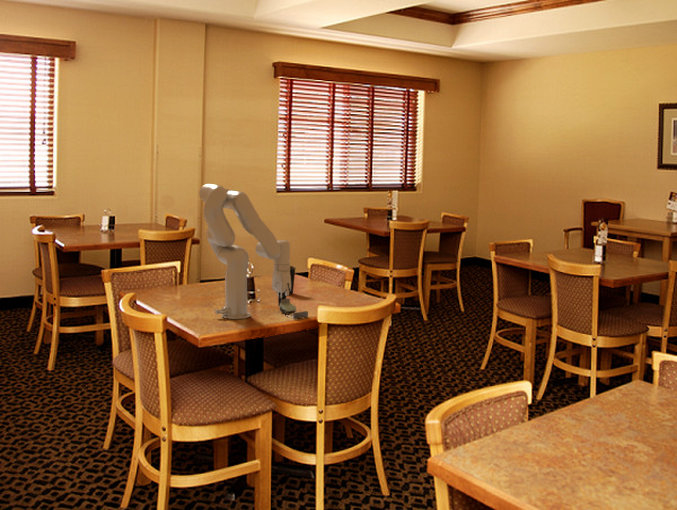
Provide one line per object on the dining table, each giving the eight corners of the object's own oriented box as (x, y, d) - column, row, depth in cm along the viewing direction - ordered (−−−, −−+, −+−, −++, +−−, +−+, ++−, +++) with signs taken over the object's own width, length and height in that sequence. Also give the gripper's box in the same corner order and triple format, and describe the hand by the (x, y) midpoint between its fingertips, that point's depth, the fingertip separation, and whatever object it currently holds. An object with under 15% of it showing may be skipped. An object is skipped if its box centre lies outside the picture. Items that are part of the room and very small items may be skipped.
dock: (294, 319, 304) (294, 313, 303) (282, 315, 312) (282, 308, 311) (307, 317, 308) (307, 311, 307) (296, 313, 316) (296, 307, 315)
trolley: (278, 310, 318) (278, 299, 316) (289, 309, 321) (290, 297, 319) (285, 315, 312) (285, 303, 311) (296, 313, 315) (297, 302, 314)
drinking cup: (293, 295, 353) (293, 257, 350) (279, 294, 355) (279, 256, 352) (297, 292, 361) (297, 254, 358) (283, 292, 362) (283, 254, 359)
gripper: (266, 265, 321) (267, 304, 324) (283, 270, 309) (283, 310, 312) (280, 264, 325) (280, 302, 328) (297, 268, 313) (297, 308, 316)
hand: (282, 306), depth 320 cm, fingers closed
